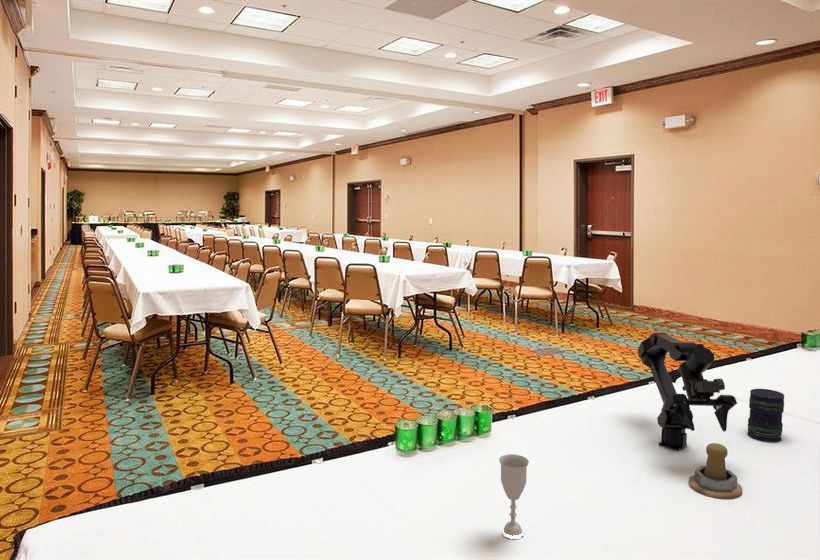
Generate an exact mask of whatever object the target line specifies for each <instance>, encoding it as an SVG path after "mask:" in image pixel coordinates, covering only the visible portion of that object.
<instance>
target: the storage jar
mask: <svg viewBox="0 0 820 560" xmlns="http://www.w3.org/2000/svg"><path fill="white" fill-rule="evenodd" d="M749 393H750V395H749V404H748V407H749V418H748V417H747V418H748V420H747V436H748V437H749V438H750V439H753V440H755V441H758V442H762V443H771V444H772V443H780V442H781V441H782V433H783V427H784V425H783V413H784V411H785V409H784V408H785V394H784V393H783V392H780V391H777V390H773V389H769V388H768V389H767V388H753V389H751V390H750V392H749Z"/></svg>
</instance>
